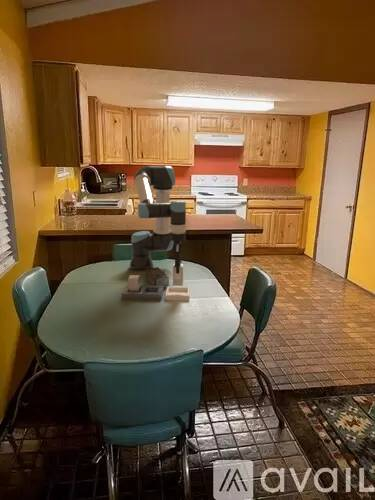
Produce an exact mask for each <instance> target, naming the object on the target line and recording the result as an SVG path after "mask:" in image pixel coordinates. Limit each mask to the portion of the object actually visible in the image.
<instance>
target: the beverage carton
mask: <svg viewBox="0 0 375 500" xmlns="http://www.w3.org/2000/svg"><path fill="white" fill-rule="evenodd" d="M145 276H146V277H145V278H146V279H147V280H148V281H149V282H150V284H151V285H152V286H164V288H167V287H170V278H169V276H168V275H167V274H165V272H164V271H163V270H162V269H160V267H158V266H157V267H153V268H148V269H146V271H145Z"/></svg>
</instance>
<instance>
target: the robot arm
mask: <svg viewBox="0 0 375 500" xmlns="http://www.w3.org/2000/svg"><path fill="white" fill-rule="evenodd" d="M175 175H176V174H175V171H174V168H173V166H170V165H144V166H142V167H140V168H139V169H138V170H137V171H136V172H135V174H134V177H133V184H134V187H136V190H137V194H138V199H139V203H138V204H137V215H138V218H140V219H155V228H153V230H152V233H151V232H150V231H148V230H143V231H137V232H134V233H133V234H131V241H130V243H131V257H130V258H131V259H130V262H129V269H130V270H132V271H135V272H144V271H145V272H146V269H148V268H154V262H153V260H152V257H151V253H152V252H166V251H167V252H168V251H171V250H172V249H173V248H174V264H175V266H174V267H175V279H180V268H181V266H180V264H183V260H182V251H183V250H182V248H183V243H182V242H185V241H186V231H187V229H186V228H187V225H186V224H187V223H186V221H187V220H186V219H187V218H186V217H187V214H186V213H187V207H186V206H187V205H186V202H185V200H177V199H176V200H171V201H170V199H171V198H170V195H171V194H170V193H171V191H172V190H173V186H175V185H176V176H175ZM152 189H153V190H154V191H155V198H154V195H153V190H152Z"/></svg>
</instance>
